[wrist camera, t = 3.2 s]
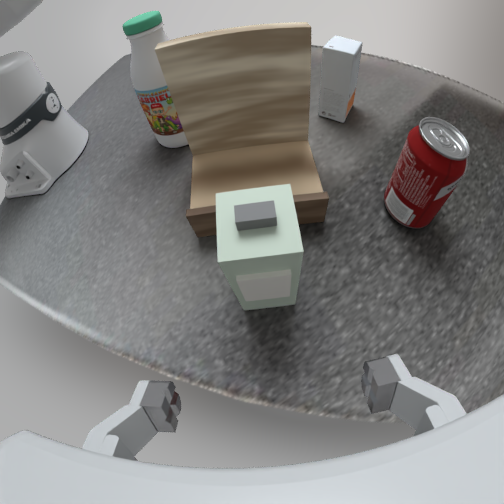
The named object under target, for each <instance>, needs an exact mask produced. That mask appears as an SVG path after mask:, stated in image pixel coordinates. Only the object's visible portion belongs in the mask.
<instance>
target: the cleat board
mask: <svg viewBox="0 0 504 504" xmlns="http://www.w3.org/2000/svg"><path fill="white" fill-rule="evenodd" d="M155 52H156V55H157V58H158V61H159V64H160V67H161V69H162V72H163V75H164V78H165V81H166V84H167V86H168V89H169V92H170V95H171V98H172V100H173V103H174V106H175V109H176V111H177V114H178V117H179V120H180V122H181V125H182V128H183V130H184V133H185V136H186V139H187V141H188V144H189V147H190V149H191V152H192V155H193V162H192V181H191V206H190V209H188V210H186V217H187V219H188V221H189V223H190V225H191V226H192V228H193V230H194V232H195V234H196V235H197V237H204V236H211V235H217V228H216V193H222V192H229V191H236V190H244V189H251V188H259V187H267V186H275V185H284V184H290V185H291V190H292V195H293V200H294V205H295V209H296V214H297V220H298V224H307V223H316V222H324V219H325V214H326V210H327V205H328V200H329V197H328V193H327V192H323V189H322V186H321V182H320V179H319V175H318V172H317V168H316V165H315V162H314V159H313V155H312V152H311V149H310V146H309V143H308V128H309V107H310V78H311V26H310V25H309V24H308V23H307V22H299V23H274V24H260V25H251V26H242V27H234V28H227V29H221V30H215V31H210V32H204V33H199V34H195V35H190V36H185V37H181V38H177V39H173V40H169V41H165V42H162V43H158V44H157V46H156V48H155Z"/></svg>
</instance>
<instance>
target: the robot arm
mask: <svg viewBox="0 0 504 504" xmlns="http://www.w3.org/2000/svg"><path fill="white" fill-rule="evenodd" d="M42 1H43V0H0V37H1V36H3V35H4V34H5V33H6V32H8V31H9V30H10V29H12V28H13V27H14V26H15V25H17V24H18V23H19V22H21V21H22V20H23V19H24V18H25V17H26V16H27V15H28V14H30V13H31V12H32V11H33V10H34V9H35V8H36V7H37V6H38V5H40V4H41V3H42ZM0 136H1V139H2V141H3V144H4V147H3V152H2V158H1V164H0V172H1V174H2V176H3V177H4V178H5V180H6V181H7V185H6V190H5V196H6V197H7V198H14V197H20V196H28V195H35V194H42V193H45V192H46V191H47V190H48V189H49V188H50V187H51V185H52V184H53V183H54V181H55V180H56V179H57V178H58V177H59V176H60V175H61V174H62V173H63V172H65V171H66V170H67V169H68V168H69V167H70V166H71V165H72V164H73V163H74V161H75V160H76V159H77V158H78V156H79V155H80V154H81V152H82V151H83V149H84V147H85V145H86V143H87V140H88V131H87V130H86V129H85V128H84V127H82V126H81V125H80V124H79V123H78V122H77V121H75V120H74V119H73V118H72V116H71V115H70V114H69V113H68V112H67V111H66V110H65V109H64V107H63V106H62V105H61V103H60V101H59V98H58V96H57V94H56V92H55V91H54V89H53V88H52V86H51V85H50V83H49V82H46V81H45V79H44V78H43V76H42V74H41V73H40V71H39V69H38V67H37V66H36V64H35V62H34V60H33V58H32V57H31V55H29V54H28V53H26V52H22V51H18V52H13V53H10V54H7V55H4V56H1V57H0ZM363 369H364V372H365V373H364V374H363V375H362V380H361V384H362V390H363V393H364V396H366V397H368V401H367V404H368V407H369V409H370V412H371V414H373V413H378V412H382V411H386V410H390V411H391V412H392V413H394V414H395V415H396V416H398V417H399V418H400V419H402V420H403V421H404V422H406V423H407V424H408V425H410V426H411V427H413V428H414V429H415V430H416V432H415V434H414V436H413V437H410V438H408V439H405V440H402V441H399V442H395V443H392V444H389V445H386V446H382V447H379V448H375V449H371V450H368V451H364V452H359V453H355V454H351V455H346V456H342V457H337V458H331V459H326V460H320V461H315V462H308V463H300V464H292V465H283V466H271V467H257V468H199V467H183V466H172V465H163V464H154V463H147V462H140V461H138V460H137V459H136V458H135V457H134V456H135V455H136V454H137V453H138V452H139V451H140V450H141V449H142V448H143V447H144V446H145V445H146V444H147V443H148V442H149V441H150V440H151V439H152V438H153V437H154V436H155V435H156V434H157V432H175V431H176V427H177V423H178V420H177V418H176V416H178V415H179V414H180V411H181V400H180V397H179V394H178V393H176V392H175V391H174V390H175V386H174V383H173V382H171V381H147V380H141V381H139V382H138V385H137V387H136V389H135V392H134V394H133V396H132V398H131V401H130V403H129V405H125V406H124V407H122V408H121V409H120V410H118V411H117V412H115V413H114V414H112V415H111V416H110V417H108V418H107V419H105V420H104V421H102V422H101V423H100V424H98V425H97V426H96V427H94V428H92V429H91V430H90V432H89V434H88V436H87V438H86V440H85V443H84V445H83V447H82V449H81V448H77V447H74V446H71V445H67V444H64V443H61V442H58V441H55V440H52V439H50V438H47V437H44V436H41V435H39V434H36V433H34V432H31V431H28V430H22V431H20V432H17V433H15V434H13V435H11V436H9V437H8V438H6V439H4V440H2V441H1V442H0V504H504V394H503V395H501V396H499V397H498V398H496V399H494V400H493V401H491V402H489V403H487V404H485V405H483V406H482V407H480V408H478V409H476V410H474V411H472V412H470V413H468V414H466V412H465V411H464V409H463V407H462V406H461V404H460V403H459V401H458V399H457V398H456V396H454V395H452V394H450V393H448V392H446V391H444V390H442V389H439V388H437V387H435V386H433V385H431V384H429V383H427V382H425V381H423V380H421V379H419V378H417V377H412V376H411V375H410V373H409V371H408V370H407V368H406V366H405V365H404V363H403V361H402V360H401V358H400V357H399V355H398V354H394V355H390V356H386V357H382V358H378V359H374V360H370V361H365V362H364V366H363Z"/></svg>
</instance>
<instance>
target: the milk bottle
mask: <svg viewBox="0 0 504 504" xmlns="http://www.w3.org/2000/svg"><path fill="white" fill-rule="evenodd" d="M163 25H164V24H163V23H162V17H161V14H160V12H159V11H152V12H147V13H144V14H142V15H138V16H136V17H134V18H132V19H130V20H128V21H127V22H125V23H124V24H123V30H124V33H125V34H126V36H127V39H129V40H130V43H131V50H132V51H131V52H132V53H131V65H130V75H131V80H132V84H133V87H134V89H135V92H136V94H137V97H138V99H139V101H140V104H141V106H142V108H143V110H144V113H145V115H146V117H147V119H148V121H149V124H150V126H151V128H152V130H153V132H154V134H155V136H156V138H157V140H158V142H159V143H160V144H161V145H163V146H165V147H168V148H177V147H182V146H185V145H188V141H187V139H186V136H185V133H184V130H183V128H182V125H181V122H180V120H179V117H178V114H177V111H176V109H175V106H174V103H173V100H172V98H171V95H170V92H169V89H168V86H167V84H166V81H165V78H164V75H163V72H162V69H161V67H160V64H159V61H158V58H157V55H156V52H155V48H156V46H157V44H158V43H162V42H165V41H169V40H170V39H169V38H168V37H167V35H166V34H165V33H164V31H163V28H162V26H163Z"/></svg>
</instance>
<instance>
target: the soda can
mask: <svg viewBox="0 0 504 504" xmlns="http://www.w3.org/2000/svg"><path fill="white" fill-rule="evenodd" d="M469 152H470V148H469V144H468V142H467V140H466V139H465V137H464V136H463V135H462V133H461V132H460V131H459V130H458V129H456V128H455V127H454V126H453V125H451V124H450V123H448V122H446V121H444V120H442V119H439V118H434V117H426V118H424V119H422V120H421V121H420V124H419V125H418V126H416V127H414V128H413V129H411V131H410V132H409V134H408V137H407V139H406V142H405V145H404V147H403V150H402V152H401V155H400V157H399V160H398V162H397V165H396V167H395V169H394V172H393V174H392V176H391V179H390V181H389V183H388V186H387V188H386V190H385V193H384V202H385V206H386V208H387V210H388V212H389V213H390V215H391V216H392V217H393V218H394V219H395V220H396V221H397V222H399V223H400V224H402V225H404V226H406V227H409V228H414V229H419V228H423V227H425V226H427V225H428V224H429V223H430V222H431V221H432V219H433V218H434V217H435V215H436V214H437V213H438V211H439V210H440V209H441V207H442V206H443V204H444V203H445V202H446V200H447V199H448V197H449V196H450V195H451V193H452V192H453V190H454V189H455V187H456V186H457V184H458V183H459V181H460V180H461V178H462V177H463V175H464V174H465V172H466V170H467V167H468V161H467V157H468V155H469Z"/></svg>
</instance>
